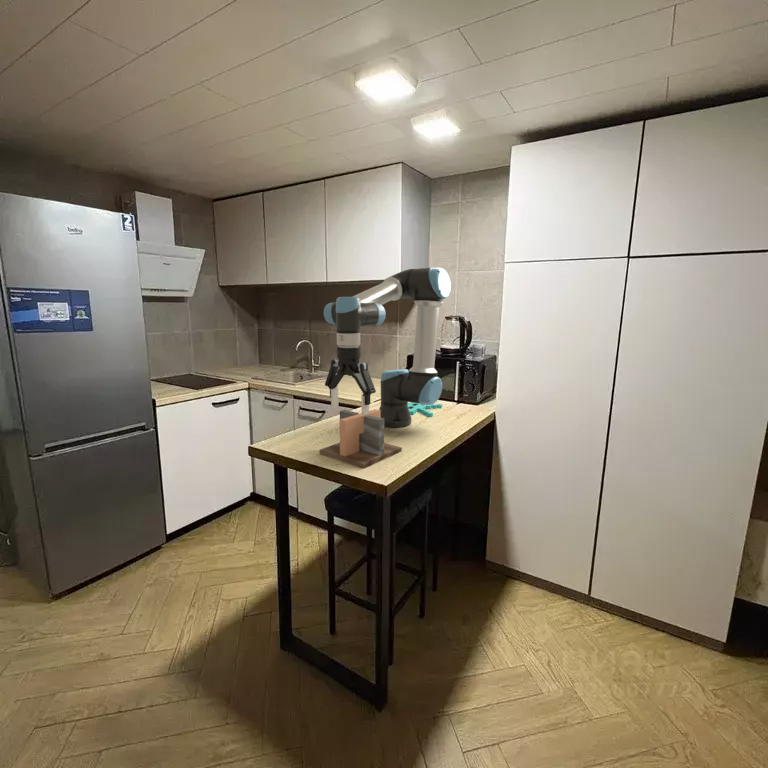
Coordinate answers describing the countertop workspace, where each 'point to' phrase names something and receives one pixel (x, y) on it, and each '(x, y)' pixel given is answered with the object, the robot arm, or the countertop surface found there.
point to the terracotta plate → (353, 432)
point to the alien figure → (422, 408)
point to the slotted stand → (365, 443)
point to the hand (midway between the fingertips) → (349, 411)
